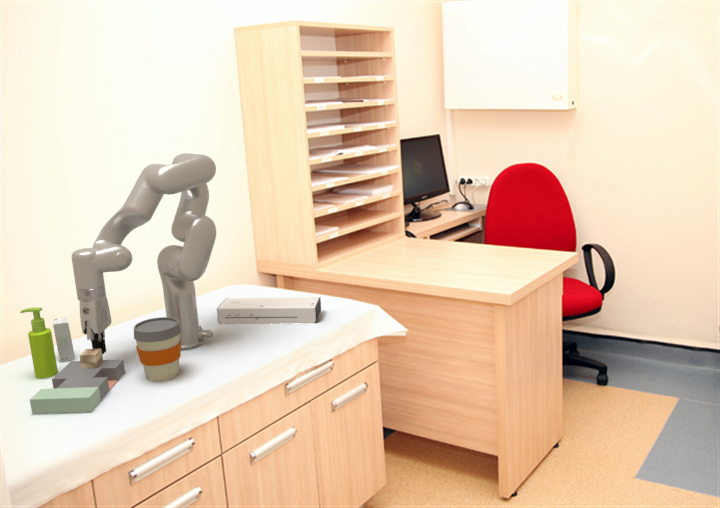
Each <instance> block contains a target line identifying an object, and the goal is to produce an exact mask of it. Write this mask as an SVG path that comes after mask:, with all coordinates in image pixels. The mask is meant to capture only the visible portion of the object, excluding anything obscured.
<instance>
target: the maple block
mask: <svg viewBox="0 0 720 508" xmlns="http://www.w3.org/2000/svg"><path fill="white" fill-rule="evenodd" d="M103 360H104V357H103V354H102V349H92V348H86V349H84V350H83V351H82V352H80V354H79V361H80V363H81V369H88V368H98V367H99V366H100V365H101V364H102V363H103Z"/></svg>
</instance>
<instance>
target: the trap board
mask: <svg viewBox="0 0 720 508" xmlns="http://www.w3.org/2000/svg"><path fill="white" fill-rule="evenodd" d="M125 373H126V369H125V360H124V359H123V358H122V359H103V363H102V364H101V365H100V366H99V367H98V368H88V369H81V363H80V360H70V362H69V363H68V364H66V365H65V366H64V367H63V368H62V369H61V370H60V371H58V373H57V374H56V375H54V376H53V377H52V379H51V380H52V381H51V383H52V387H53V388H41V389H39V391H37V392H36V393H35V394H34V395H33V396H32V397H31V398H30V399H29V404H30V408H31V409H30V410H31V414H32V415H44V414H45V415H48V414H49V415H52V414H72V413H73V414H76V413H77V414H78V413H92V412H93V411H94V410H95V408H96V407H97V406H99V404H100V403H101V402H102V401H103V400H104V398H105V397H106V396H107V394H108V393H109V392H110V391H111V390H112V389H113V388H114V386H115V385H116V384H117V383H118V381H119V380H120V379H121V378H122V377H123V376H122V375H125ZM116 382H117V383H116Z"/></svg>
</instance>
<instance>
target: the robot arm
mask: <svg viewBox="0 0 720 508" xmlns="http://www.w3.org/2000/svg"><path fill="white" fill-rule="evenodd" d="M216 166H217V165H216V164H215V162H214V160H213V159H212V158H211V157H210V156H208V155H206V154H197V153H186V152H185V153H180V154H177V155H176V156H175V157H174V158H173V159H172V162H171V164H160V163H151V164H147V166H145V167H144V168H143V169H142V170H141V172H140V175H138V178H137V179H136V181H135V184H134V185H133V187H132V189H131V191H130V193H129V195H128V196H127V198H126V200H125V202H124V203H123V205H122V207H120V209H119V210H118V211H117V212H115V214H114V215H113V216H112V217H110V218H109V220H107V222H106V223H104V225H103V226H102V228H101V229H100V232H99V234H98V235H97V237H96V239H95V240H94V242H93V244H92V245H93V246H92V247H85V248H80V249H76V250H74V251H73V252H72V253H71V263H72V270H73V277H74V284H75V289H76V297H77V300H78V302H79V318H80V326H81V332H82V334H83V335H86V340H87V341H90V342H91V349H102V355H104V354H105V353H107V347H106V346H107V345H106V339H105V338H106V334H105V333H106V331H105V330H107V328H108V327H110V326H111V325H112V318H111V317H112V316H111V310H110V305H109V301H108V298H107V294H106V293H107V292H106V285H105V284H106V283H105V278H104V277H105V276H104V273H110V272H111V273H113V272H115V273H116V272H122V271H124V270H126V269H128V268H129V267H130V265H131V264H132V261H133V254H132V252H131V250H130V249H128V248H127V246H124V245H122V244H123V242H124V240H125V239H126V237H127V236H128V235H129V234H130V233H131V232H132V231H134V230H136V229H137V228H139V227H141V226H143V225H145V224H146V223H148V222H149V221H151V220H152V218H153V217H154V214H155V212H156V210H157V208H158V206H159V205H160V203H161V201H162V199H163V197H164V195H170V196H171V195H177V194H180V198H179V202H178V206H177V209H176V212H175V215H174V217H173V221H172V223H171V234H172V236H173V238H174V239H175V240H177V241H179V242H182V243H183V246H181V245H176V244H172V245H171V244H170V245H167V246H165V247H163V248H162V249H161V250H160V251H159V253H158V255H157V260H156V263H157V270H158V273H159V277H160V280H161V284H162V291H163V299H164V300H163V301H164V308H165V309H164V310H165V315H166V316H165V317H170V318H175V319H177V320H178V321H179V325H180V329H181V332H180V339H181V351H182V349H183V350H189V348H190V349H193V347H194V348H196V346H197V347H199V346H200V345H203V344H204V343H205V342H206V338H207V339H209V338H210V339H212V338H213V337H214V332H213V331H212V330H211V329H203V326H202V325H199V315H198V314H199V313H198V305H197V298H196V287H195V282H194V281H197V280H200V278H202V276H203V275H204V273H205V272H206V270H207V268H208V264H209V262H210V259H211V256H212V253H213V248H214V246H215V243H216V239H217V227H216V224H215V222H214V220H213V219H212V218H211V217H209V216H207V215H206V213H207V209H208V205H209V202H210V192H209V186H208V184H207V183H209V182H210V181H212V180H213V179H214V177H215V175H216V172H217V167H216ZM204 341H205V342H204ZM203 342H204V343H203ZM198 345H199V346H198Z"/></svg>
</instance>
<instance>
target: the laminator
mask: <svg viewBox="0 0 720 508" xmlns="http://www.w3.org/2000/svg"><path fill="white" fill-rule="evenodd" d="M321 311H322V302H321V297H320V296H313V297H311V296H310V297H309V296H307V297H304V296H303V297H235V298H233V297H230V298H225V299H224V300H223V301H222V302H221V303H220V304H219V305H218V306H217V307H216V313H217V322H218V324H220V325H272V324H273V325H275V324H274V323H277V325H279V324H280V323H284V324H283V325H285V323H290V325H291V323H302V324H316V323H317V320H318V318H319V315H320V313H321ZM271 323H272V324H271Z"/></svg>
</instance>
